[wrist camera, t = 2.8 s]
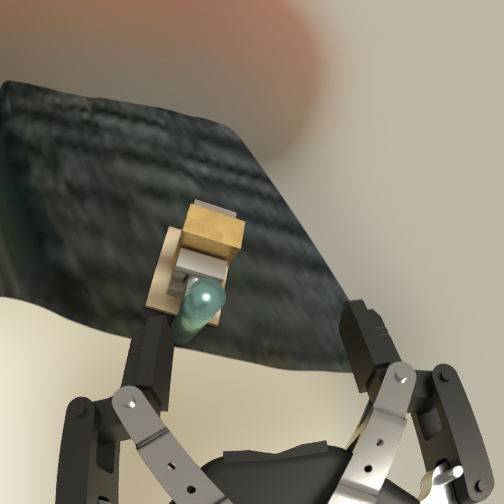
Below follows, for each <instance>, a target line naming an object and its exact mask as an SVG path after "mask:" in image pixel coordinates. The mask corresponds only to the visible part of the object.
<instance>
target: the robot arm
mask: <svg viewBox="0 0 504 504" xmlns="http://www.w3.org/2000/svg"><path fill="white" fill-rule="evenodd" d="M339 332H340V336H341V339H342V342H343V345H344V348H345V351H346V354H347V356H348V359H349V362H350V365H351V368H352V371H353V374H354V377H355V381H356V383H357V387H358V390H359V393H363V392H368V395H369V398H370V399H369V401H368V403H367V405H366V408H365V410H364V412H363V415H362V417H361V419H360V421H359V423H358V425H357V428H356V430H355V432H354V434H353V435H352V437H351V439H350V440H349V442H348V444H347V446H346V447H345V449H343V448H339V447H336V446H329V445H327V442H326V440H325V441H321V442H314V443H308V444H302V445H299V446H297V447H294V448H291V449H289V450H286V451H283V452H281V453H277V454H272V453H264V452H257V451H251V450H245V451H224V452H223V457H219V458H217V459H214V460H212V461H210V462H208V463H206V464H205V465H204V466H202V467H201V468H199V467H198V465H197V464H196V463H195V462H194V461H193V460H192V459H191V457H190V456H189V455H188V454H187V453H186V451H185V450H184V449H183V448H182V446H181V445H180V444H179V443H178V441H177V440H176V439H175V437H174V436H173V435H172V434H171V432H170V431H169V430H168V428H167V427H166V426H165V424H164V423H163V422H162V420H161V419H160V412H161V411H168V403H169V392H170V381H171V371H172V362H173V353H174V340H173V336H172V333H171V330H170V327H169V324H168V321H167V318H166V316H165V315H158V316H148V318H147V323H146V327H145V328H138V329H137V330H136V332H135V333H134V334H133V336H132V339H131V343H130V348H129V352H128V356H127V361H126V365H125V370H124V375H123V379H122V384H121V387H120V389H119V390H117V391H116V392H115V394H114V395H113V396H112V397H110V398H107V399H103V400H99V401H94V402H92V401H91V400H90V399H88V398H86V397H77V398H75V399H73V400H72V401H71V402H70V403H69V405H68V407H67V410H66V416H65V422H64V428H63V433H62V440H61V447H60V454H59V463H58V473H57V485H56V501H55V504H118V481H119V452H120V441H123V440H128V439H132V440H133V441H134V443H135V445H136V449H137V451H138V453H139V454H140V456H141V457H142V459H143V460H144V462H145V463H146V465H147V466H148V468H149V469H150V470H151V471H152V473H153V474H154V476H155V477H156V479H157V480H158V481H159V482H160V484H161V485H162V486H163V488H164V489H165V490H166V492H167V493H168V494H169V495H170V496H171V498H172V499H173V500H172V501H171V502H170V503H169V504H475V503H478V502H480V501H483V500H485V499H486V498H487V497H488V496H489V495H490V494H491V492H492V490H493V487H494V478H493V474H492V470H491V466H490V463H489V459H488V456H487V452H486V449H485V446H484V443H483V439H482V436H481V433H480V431H479V428H478V425H477V422H476V419H475V416H474V414H473V411H472V408H471V406H470V403H469V401H468V398H467V396H466V393H465V391H464V388H463V386H462V384H461V381H460V379H459V376H458V374H457V372H456V371H455V369H454V368H453V367H451V366H450V365H447V364H439V365H437V366H436V367H435V368H434V370H433V371H420V370H414V369H413V367H412V366H410V365H409V364H407V363H405V362H402V361H401V359H400V357H399V354H398V352H397V350H396V348H395V346H394V344H393V341H392V339H391V337H390V335H389V334H388V331H387V329H386V327H385V325H384V323H383V321H382V318H381V316H380V315H378V314H377V313H376V312H375V311H374V310H373V309H370V310H367V308H366V306H365V303H364V301H363V300H361V299H359V300H352V301H346V302H345V304H344V308H343V312H342V315H341V319H340V323H339ZM406 413H411V416H412V420H413V423H414V426H415V430H416V433H417V437H418V440H419V444H420V448H421V452H422V455H423V460H424V464H425V468H426V472H427V473H426V474H425V475H424V476H423V478H422V480H421V487H420V490H421V492H420V495H419V497H418V499H416V498H415V497H414V496H412V495H411V494H409V493H408V492H406V491H405V490H403V489H402V488H400V487H399V486H397V485H396V484H394V483H393V482H391V481H390V480H389V479H387V478H386V475H387V473H388V470H389V468H390V466H391V463H392V461H393V459H394V456H395V453H396V451H397V449H398V445H399V443H400V440H401V438H402V435H403V432H404V429H405V426H406V422H407V420H406V419H405V415H406Z"/></svg>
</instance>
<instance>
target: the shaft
mask: <svg viewBox="0 0 504 504" xmlns="http://www.w3.org/2000/svg"><path fill="white" fill-rule="evenodd" d="M225 300H226V294H225V291H224V289H223V287H222V286H221V284H220V283H218V282H217V281H216V280H214V279H211V278H197V277H194V276H190V275H187V278H186V282H185V286H184V291H183V295H182V299H181V304H180V308H179V311H178V313H177V315H176V317H175V318H174V320H173V322H172V324H171V326H170V330H171V333H172V336H173V340H174V343H176V344H178V345H185V344H187V343H189V342H190V341H191V340H192V338H193V337H194V336H195V335H196V334H197V333H198V332H199V331H200V330H201V329H202V328H203V327H204V326H205V325H206V324H207V323H208V322H209V321H210V320H211V319H212V318H213V316H214V315H215V314H216V313H217V312H218V311H219V310H220V309H221V308H222V307H223V305H224V303H225Z"/></svg>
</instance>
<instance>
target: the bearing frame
mask: <svg viewBox="0 0 504 504" xmlns="http://www.w3.org/2000/svg"><path fill="white" fill-rule="evenodd" d="M193 205H196V206H199V207H202V208H205V209H208V210H211V211H214V212H217V213H220V214H223V215H226V216H229V217H232V218H235V219H236V214H237V213H235V212H232V211H229V210H226V209H223V208H220V207H217V206H214V205H211V204H208V203H205V202H202V201H199V200H196V199H195V202H194V204H193ZM180 233H181V230H179V229H176V228H173V227H170V226H169V229H168V232H167V235H166V238H165V241H164V244H163V247H162V251H161V254H160V257H159V260H158V264H157V267H156V270H155V274H154V277H153V280H152V284H151V287H150V291H149V295H148V298H147V302H146V306H145V307H146V308H150V309H153V310H156V311H160V312H163V313H167V314H170V315H174V316H176V315H177V313H178V311H179V308H180V304H181V299H182V295H183V291H184V286H185V282H186V278H187V275H190V276H194V277H197V278H211V279H214V280H216V281H217V282H218V283H220V284H221V286H222V287H223V289H224V287H225V282H226V276H227V270H228V267H227V261H224V260H220V259H217V258H214V257H210V256H207V255H204V254H200V253H197V252H194V251H191V250H187V249H184V248H181V249H180V252H179V255H178V258H177V260H176V263H175V266H172V265H171V263H172V259H173V256H174V252H175V249H176V245H177V242H178V239H179V236H180ZM220 311H221V309H220V310H219V311H218V312H217V313H216V314H215V315H214V316H213V318H212V319H211V320H210V321H209V322H208V323H207V324H208V325H212V326H218V323H219V317H220Z"/></svg>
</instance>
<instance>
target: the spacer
mask: <svg viewBox="0 0 504 504" xmlns="http://www.w3.org/2000/svg"><path fill="white" fill-rule="evenodd" d="M244 225H245V222H244V221H241V220H238V219H235V218H232V217H229V216H226V215H223V214H220V213H217V212H214V211H211V210H208V209H205V208H202V207H199V206H196V205H193V204H191V205H190V208H189V210H188V213H187V216H186V219H185V222H184V224H183V227H182V230H181V233H180V236H179V239H178V242H177V245H176V249H175V252H174V256H173V259H172V263H171V265H172V266H175V263H176V260H177V258H178V255H179V252H180V249H181V248H184V249H187V250H191V251H194V252H197V253H200V254H204V255H207V256H210V257H214V258H217V259H220V260H224V261H227V267H228V265H229V264H230V263H231V261H232V260H233V259H234V257H235V256H236V254H237V253H238V252H239V250H240V249H241V243H242V237H243V231H244Z"/></svg>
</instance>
